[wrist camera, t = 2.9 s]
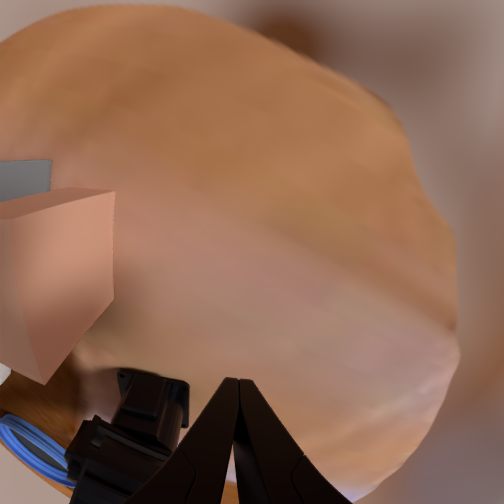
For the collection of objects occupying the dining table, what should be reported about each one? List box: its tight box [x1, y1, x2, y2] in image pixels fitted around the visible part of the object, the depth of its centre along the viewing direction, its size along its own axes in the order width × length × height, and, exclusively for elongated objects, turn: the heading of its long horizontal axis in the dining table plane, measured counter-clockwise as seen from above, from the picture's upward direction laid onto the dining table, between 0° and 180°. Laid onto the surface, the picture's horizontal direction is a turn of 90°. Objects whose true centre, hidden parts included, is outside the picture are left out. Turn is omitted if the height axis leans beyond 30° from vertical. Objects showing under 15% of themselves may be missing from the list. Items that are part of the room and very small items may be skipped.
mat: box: [0, 160, 52, 202], centre depth 17 cm, size 12×11×1 cm
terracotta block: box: [0, 187, 115, 385], centre depth 13 cm, size 8×4×10 cm, turn 171°
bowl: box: [0, 414, 76, 488], centre depth 26 cm, size 18×18×4 cm
